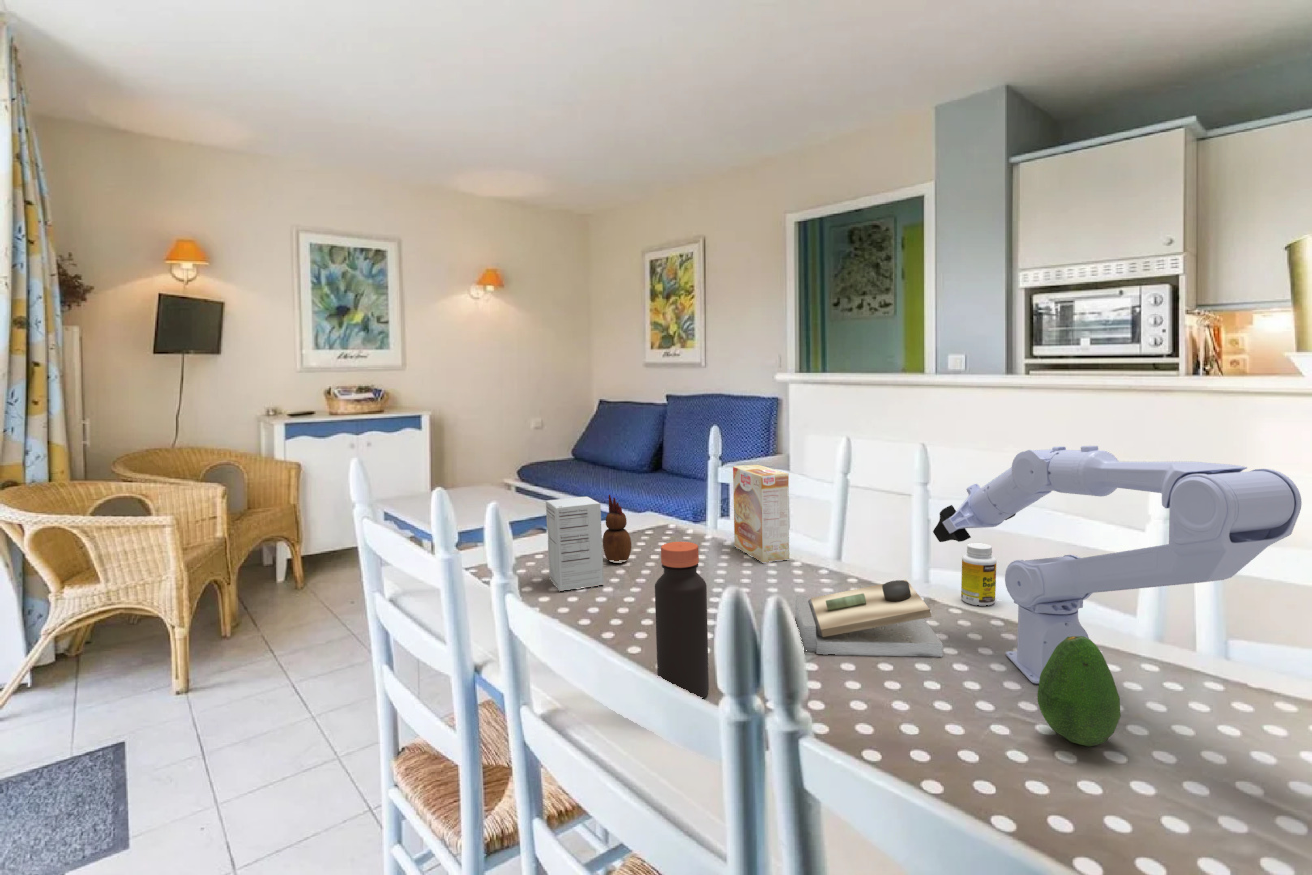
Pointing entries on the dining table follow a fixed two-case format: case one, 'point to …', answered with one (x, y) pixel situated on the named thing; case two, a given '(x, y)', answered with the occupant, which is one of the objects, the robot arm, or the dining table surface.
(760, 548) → the coffeecake box
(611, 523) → the wooden figurine
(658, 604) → the vinegar
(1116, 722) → the avocado
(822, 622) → the plate
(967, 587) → the supplement bottle
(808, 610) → the level base
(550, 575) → the supplement box
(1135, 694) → the dining table surface
